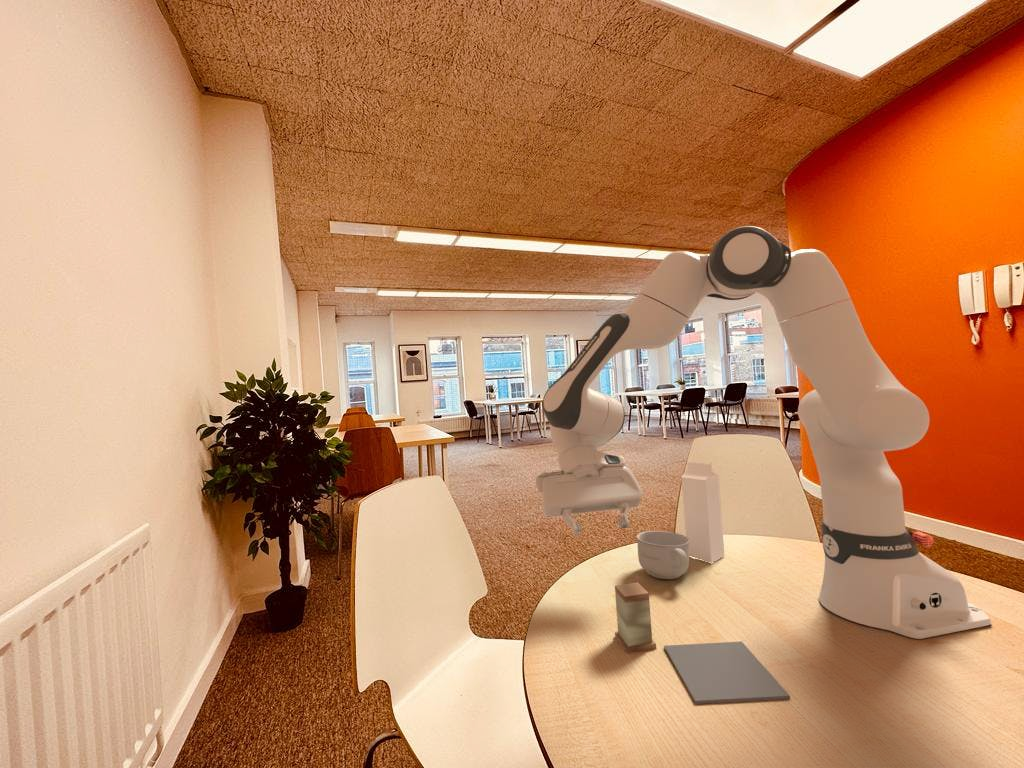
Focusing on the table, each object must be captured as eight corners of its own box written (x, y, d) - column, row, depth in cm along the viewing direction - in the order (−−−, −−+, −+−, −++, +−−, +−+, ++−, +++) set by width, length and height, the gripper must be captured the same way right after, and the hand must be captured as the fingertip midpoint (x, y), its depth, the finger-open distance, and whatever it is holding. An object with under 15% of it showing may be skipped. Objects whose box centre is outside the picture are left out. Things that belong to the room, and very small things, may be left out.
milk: (711, 564, 97) (704, 466, 97) (686, 557, 102) (679, 463, 102) (725, 556, 100) (718, 462, 101) (700, 550, 105) (693, 459, 105)
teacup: (634, 564, 99) (631, 529, 99) (681, 562, 99) (679, 527, 99) (651, 593, 85) (648, 552, 86) (706, 590, 85) (703, 549, 85)
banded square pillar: (642, 632, 72) (638, 581, 72) (656, 648, 67) (652, 593, 68) (615, 636, 71) (611, 584, 72) (627, 653, 67) (623, 598, 67)
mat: (741, 644, 67) (741, 641, 67) (790, 698, 55) (789, 695, 55) (664, 648, 67) (664, 645, 67) (695, 703, 55) (695, 700, 55)
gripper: (535, 464, 88) (550, 527, 78) (630, 456, 91) (656, 515, 81) (532, 482, 92) (546, 544, 82) (623, 473, 95) (647, 531, 85)
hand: (601, 529), depth 81 cm, fingers open, 8 cm apart
